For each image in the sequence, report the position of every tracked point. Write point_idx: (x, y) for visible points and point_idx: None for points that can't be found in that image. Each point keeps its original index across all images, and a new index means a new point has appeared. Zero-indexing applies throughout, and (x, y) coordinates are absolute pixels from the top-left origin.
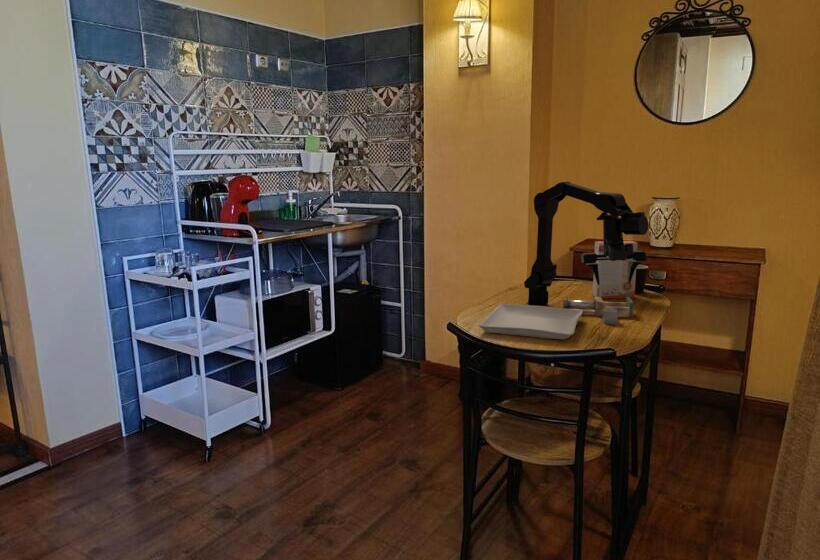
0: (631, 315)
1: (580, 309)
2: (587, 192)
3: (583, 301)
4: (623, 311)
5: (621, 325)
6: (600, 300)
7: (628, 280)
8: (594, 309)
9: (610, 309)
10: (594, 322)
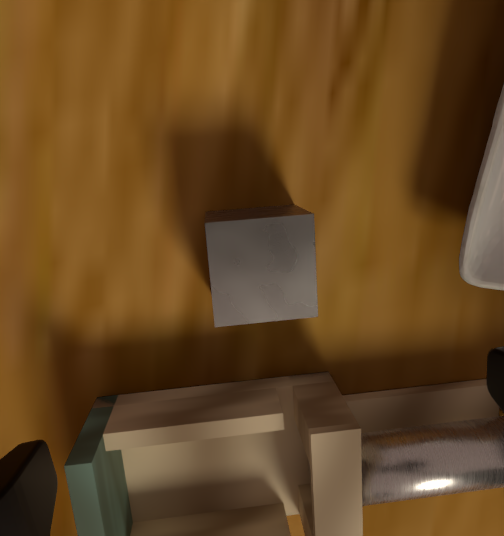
0: (101, 404)
1: None
2: None
3: (445, 468)
4: (153, 411)
5: (177, 180)
6: (329, 472)
7: (29, 481)
8: None
9: (259, 290)
10: (352, 216)
